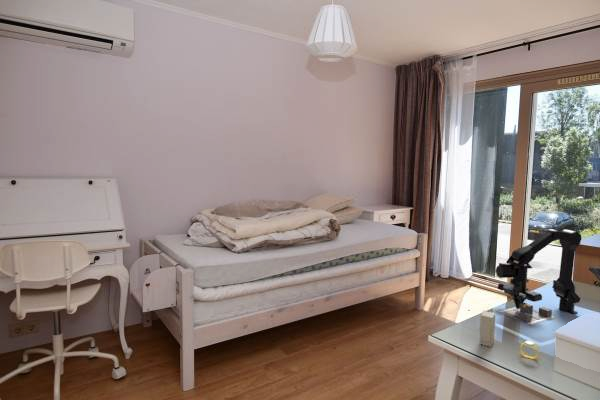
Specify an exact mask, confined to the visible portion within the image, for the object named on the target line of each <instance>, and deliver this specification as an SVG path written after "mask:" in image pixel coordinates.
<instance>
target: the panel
mask: <svg viewBox="0 0 600 400" xmlns="http://www.w3.org/2000/svg"><path fill="white" fill-rule="evenodd" d="M497 312H498V313H500V314H503V315H505V316H507V317H510V318H511V319H512V318H513V319H515V320H517V321H519V322H522V323H524V324H527V325H530V326H532V325H535V324H539V323H543V322H546V321H550V320H554V319H557V317H556V316H553V315H552V314H553V310H552V309H551V308H548V307H545V306H540V307H538V309H534V308H533V314H532V315H530V314H528V313H525V312H520V309H517V308H516V306H513V307H510V308H506V309H505V308H504V309H502V310H498V311H497Z"/></svg>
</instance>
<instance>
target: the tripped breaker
mask: <svg viewBox="0 0 600 400" xmlns="http://www.w3.org/2000/svg"><path fill="white" fill-rule="evenodd" d="M533 309H534V306H533V304H531V303H529V302H528V303H527V302H523V303H520V312H525V313H528V314H530V315H532V314H533Z"/></svg>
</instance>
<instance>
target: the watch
mask: <svg viewBox="0 0 600 400" xmlns="http://www.w3.org/2000/svg"><path fill="white" fill-rule="evenodd" d="M523 346H530V347H533V348H534V349H535V351H536V352H537V353H536V355H535V356H530V355H526V354H524V352H523V351H522V347H523ZM519 352H520V355H521V356H522V357H524V358H527V359H530V360H536V359H537V358H538V357H539V354H540V351H539V348H538V346H537V345H535V342H533V341H531V340H526V341H525V342H523V343H521V344H520V346H519Z"/></svg>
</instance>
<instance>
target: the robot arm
mask: <svg viewBox="0 0 600 400" xmlns="http://www.w3.org/2000/svg"><path fill="white" fill-rule="evenodd" d="M555 240H559V243H560V246H561V257H560V258H561V259H560V265H559V267H560V268H559V277H558V278H557V279H553V281H552V289H553V290H552V291H553V292H554V293H555V296H556V297H557V298H559V305H558V308H557V309H558V311H562V312H563V313H568V314H571V315H575V314H578V311H577V310H575V304H577V303H580V302H581V297H580V296H579V295H578V294H577V292H576V287H575V284H574V282H573V273H574V263H575V255H576V254H575V253H576V250H577V249H578V247H580V245H581V241H582V235H581V234H580V233H579V232H578V231H575V230H572V229H571V230H570V229H565V228H564V229H562V230H560V229H559V230H558V229H552V228H550V229H547V230H546V232H544V233H543V234H541V235H540V236H539V237H537V238H536V239H535V240H533V241H531V242H530V243H529V244H528V245H526V246H522V247H519V248H516V249H514V250H513V251H512V252H511V255H510V256H509V258H508V259H507V260H506V262H505V263H504V262H499V263H498V265H497V266H496V268H495V273H496V276H497V277H498V278H500V279H505V278H506V279H509V278H510V282H506V281H504V282H499V283H498V284H497V289H498V290H500V291H503V292H504V294H507V295H509V296H510V297H511V298H512V299H513V302H514V305H515V306H514V307H516V308H517V309H520V303H525V301H526V300H528V301H530V302H539V301H542V300H543V296H542V294H541V293H540V292H537V291H529V288H528V287H527V286H528V285H527V284H528V282H529V281H530V280H529V279H528V270H529V269H533V266H532V265H531V264H530V262H532V261H533V260H534V258H535V255H536V254H538V253H539V252H541V251H542V250H543V249H544V248H547V246H548V245H550V244H551V243H553V242H554V241H555Z"/></svg>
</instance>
